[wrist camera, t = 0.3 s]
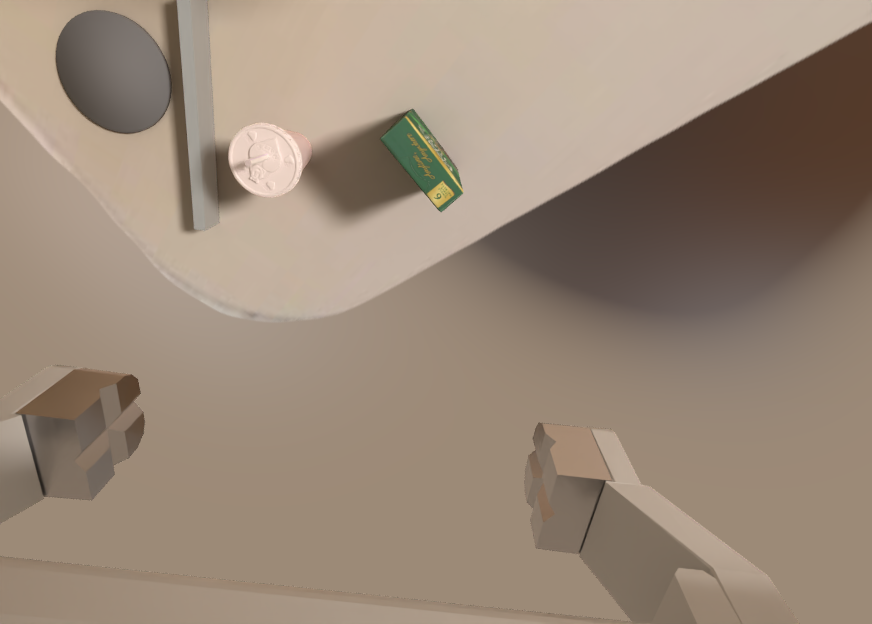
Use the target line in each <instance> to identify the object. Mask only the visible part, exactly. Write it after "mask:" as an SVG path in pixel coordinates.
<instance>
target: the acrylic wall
mask: <svg viewBox="0 0 872 624" xmlns="http://www.w3.org/2000/svg"><path fill="white" fill-rule="evenodd" d="M177 10H178V24H179V37H180V50H181V63H182V76H183V89H184V102H185V116H186V129H187V142H188V155H189V168H190V181H191V194H192V208H193V221H194V229H196V230H204V231H206V230H208V229H209V228H211V227H213V226H215V225H216V224H218V223H219V206H218V188H217V169H216V151H215V132H214V114H213V95H212V77H211V58H210V40H209V21H208V3H207V0H177Z"/></svg>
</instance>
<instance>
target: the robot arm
mask: <svg viewBox="0 0 872 624" xmlns="http://www.w3.org/2000/svg"><path fill="white" fill-rule="evenodd" d="M140 394H141V393H140V387H139V382H138V379H137V378H136V377H134V376H133V375H132V374H125V373H117V372H110V371H103V370H95V369H88V368H79V367H72V366H64V365H53V366H48V367H47V368H45V369H43V370H42V371H40V372H39V373H37V374H36V375H35V376H33V377H32V378H30V379H29V380H27V381H26V382H24V383H23V384H22V385H20V386H18V387H17V388H16V389H14V390H12V391H11V392H9V393H8V394H6V395H5V396H4V397H2V398H1V399H0V524H1V523H2V522H4V521H6V520H8V519H9V518H11V517H13V516H15V515H16V514H18V513H20V512H22V511H23V510H25V509H27V508H29V507H30V506H32V505H34V504H36V503H38V502H39V501H41V500H43V499H44V497H57V498H70V499H82V500H93V499H94V497H95V496H96V495H97V494H98V493H99V492H100V491H101V489H102V488H103V487H104V486H105V485H106V484H107V483H108V481H109V480H110V479H111V478H112V477H113V476H114V465H115V464H117V463H120V462H122V461H124V460H126V459H128V458H129V457H130V456H131V455H132V454H133V452H134V451H135V450H136V449H137V448H138V445H139V443H140V441H141V438H142V436H143V434H144V425H145V420H144V412H143V411H142V410H141V408H140V407H139V406H138V405H137V404H136V403H135V402H134V401H135V400H136V399H137V397H138V396H139V395H140ZM533 441H534V445H535V451H533V452H532V453H531V454H530V455H529V456H528V460H527V465H526V469H525V481H524V484H525V495H526V500H527V503H528V504H529V505H530V506H531V507H532V508H533V512H532V515H531V519H530V521H531V526H532V531H533V536H534V541H535V546H536V548H538V549H545V550H552V551H559V552H567V553H574V554H580V558H581V559H582V560H583V561H584V563H585V564H586V565H587V566H588V568H589V569H590V570H591V571H592V572H593V574H594V575H595V576H596V578H597V579H598V580H599V581H600V583H601V584H602V585H603V586H604V587H605V589H606V590H607V591H608V592H609V594H610V595H611V596H612V597H613V599H614V600H615V601H616V602H617V604H618V605H619V606H620V607H621V609H622V610H623V611H624V612H625V614H626V615H627V616H628V617H629V618H630V620H631V621H632V622H631V621H621V620H611V619H601V618H591V617H582V616H572V615H562V614H552V613H542V612H533V611H523V610H513V609H502V608H493V607H483V606H474V605H463V604H455V603H446V602H435V601H427V600H417V599H407V598H398V597H389V596H380V595H370V594H361V593H351V592H342V591H332V590H323V589H313V588H303V587H294V586H284V585H274V584H265V583H255V582H245V581H235V580H226V579H216V578H206V577H196V576H187V575H177V574H167V573H158V572H148V571H138V570H128V569H119V568H109V567H99V566H90V565H79V564H71V563H61V562H51V561H42V560H32V559H22V558H13V557H2V556H0V624H800V623H799V622H798V620H797V619H796V617H795V616H794V614H793V613H792V611H791V610H790V608H789V607H788V605H787V604H786V602H785V601H784V599H783V598H782V596H781V595H780V593H779V592H778V590H777V589H776V587H775V586H774V584H773V583H772V581H771V579H770V578H769V576H767V575H766V574H765V573H763V572H762V571H761V570H760V569H758V568H757V567H756V566H754V565H753V564H752V563H750V562H749V561H748V560H746V559H745V558H744V557H742V556H741V555H740V554H738V553H737V552H736V551H734V550H733V549H732V548H731V547H729V546H728V545H726V544H725V543H724V542H723V541H721V540H720V539H719V538H717V537H716V536H715V535H713V534H712V533H711V532H709V531H708V530H707V529H705V528H704V527H703V526H701V525H700V524H699V523H697V522H696V521H695V520H693V519H692V518H691V517H689V516H688V515H687V514H685V513H684V512H683V511H682V510H680V509H679V508H677V507H676V506H675V505H674V504H672V503H671V502H670V501H668V500H667V499H666V498H664V497H663V496H662V495H661V494H659V493H658V492H657V491H655V490H654V489H653V488H651V487H650V486H646V485H641V483H640V481H639V479H638V477H637V475H636V473H635V471H634V469H633V467H632V465H631V463H630V461H629V459H628V457H627V455H626V453H625V451H624V449H623V447H622V445H621V443H620V441H619V439H618V437H617V435H616V433H615V432H614V431H613V430H612V429H606V428H594V427H578V426H568V425H559V424H549V423H540V422H539V423H538V425H537V426H536V429H535V432H534V436H533Z"/></svg>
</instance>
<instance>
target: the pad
mask: <svg viewBox="0 0 872 624" xmlns="http://www.w3.org/2000/svg"><path fill="white" fill-rule="evenodd" d="M56 61H57V68H58V73H59V76H60V79H61V82H62V84H63V86H64V89H65V91H66V92H67V94H68V96H69V97H70V99H71V100H72V102H73V103H74V104H75V105H76V107H77V108H78V109H79V110H80V111H81V112H82V113H83V114H84V115H85V116H87V117H88V118H89V119H91V120H92V121H93V122H95V123H97V124H98V125H100V126H102V127H104V128H106V129H109V130H112V131H117V132H123V133H131V132H139V131H143V130H146V129H148V128H150V127H152V126H153V125H155V124H156V123H157V122H158V121H159V120H160V119H161V118H162V117H163V115H164V114H165V112H166V110H167V108H168V105H169V102H170V98H171V77H170V72H169V68H168V65H167V62H166V59H165V57H164V55H163V53H162V51H161V50H160V48H159V46H158V45H157V43H156V42H155V41H154V39H153V38H152V37H151V36H150V35H149V34H148V33H147V32H146V31H145V30H144V29H143V28H142V27H141V26H139V25H138V24H137V23H135V22H134V21H132V20H131V19H129V18H127V17H125V16H122V15H120V14H117V13H113V12H109V11H102V10H94V11H87V12H84V13H81V14H79V15H77V16H75V17H74V18H73V19H71V20H70V21H69V22H68V23H67V24H66V26H65V27H64V28H63V30H62V32H61V34H60V36H59V40H58V43H57V50H56Z"/></svg>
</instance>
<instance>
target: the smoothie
mask: <svg viewBox="0 0 872 624" xmlns="http://www.w3.org/2000/svg"><path fill="white" fill-rule="evenodd" d="M311 156H312V148H311V145H310V143H309V141H308V139H307V138H306V137H305V136H303V135H302V134H300V133H298V132H293V131H288V130H283V129H281V128H279V127H277V126H275V125H273V124H268V123H254V124H252V125H249V126H246V127H244V128H242V129H241V130H239V131H238V132H237V133H236V134H235V136H234V137H233V139H232V141H231V143H230V146H229V151H228V160H229V165H230V169H231V171H232V173H233V175H234V177H235V179H236V180H237V181H238V182H239V184H240V185H241V186H242V187H243V188H245V189H246V190H247V191H249V192H251V193H252V194H255V195H257V196H261V197H268V198H269V197H277V196H280V195H283V194H286V193H287V192H289V191H290V190H292V189H293V188H294V187H295V185H296V184H297V183H298V181H299V179H300V176H301V173H302V170H303V169H304V168H305V166H306V165H307V164H308V162H309V161H310V159H311Z"/></svg>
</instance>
